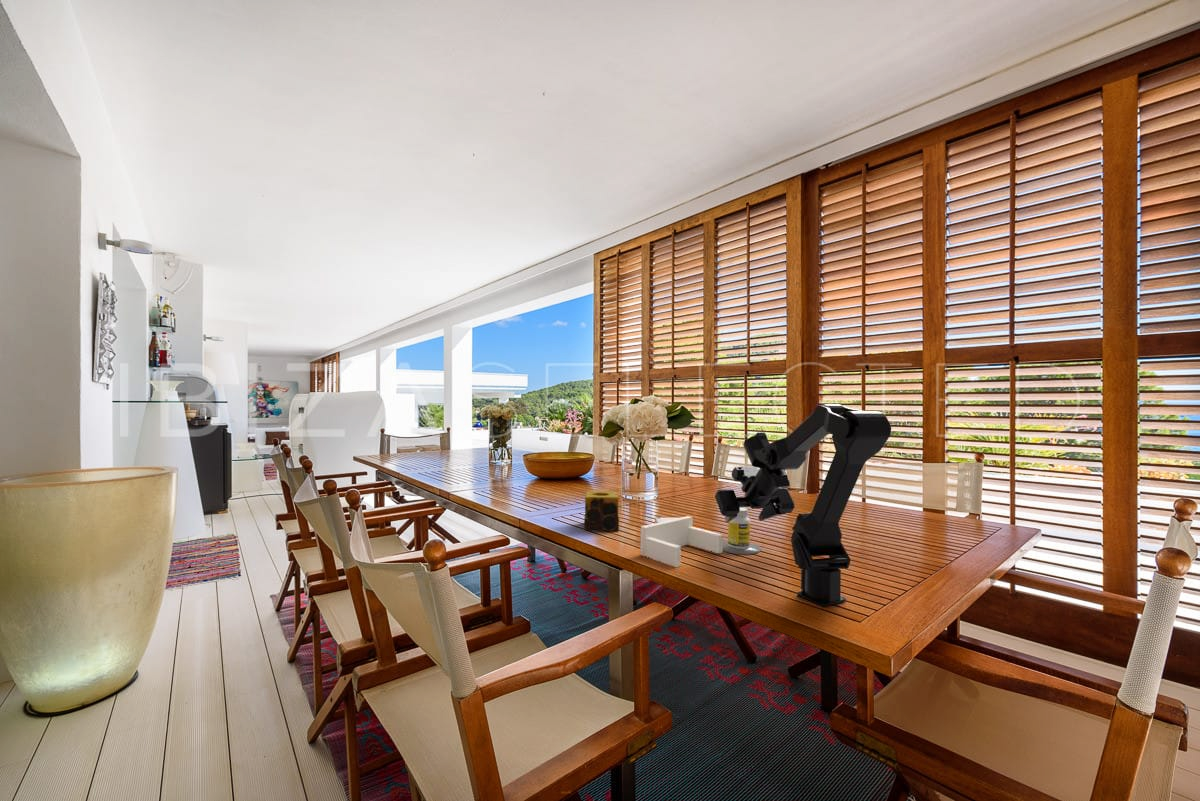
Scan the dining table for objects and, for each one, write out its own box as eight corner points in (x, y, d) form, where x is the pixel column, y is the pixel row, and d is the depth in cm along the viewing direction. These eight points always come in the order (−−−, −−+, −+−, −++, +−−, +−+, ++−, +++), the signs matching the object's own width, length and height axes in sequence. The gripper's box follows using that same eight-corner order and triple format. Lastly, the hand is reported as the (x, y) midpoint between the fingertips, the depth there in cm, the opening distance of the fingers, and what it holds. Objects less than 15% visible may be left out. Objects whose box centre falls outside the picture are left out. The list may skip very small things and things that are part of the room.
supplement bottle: (739, 550, 126) (739, 511, 126) (723, 545, 131) (723, 507, 131) (754, 547, 129) (754, 509, 129) (738, 542, 133) (739, 505, 133)
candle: (619, 532, 144) (619, 497, 144) (583, 531, 145) (584, 497, 145) (618, 523, 155) (618, 490, 155) (585, 522, 155) (585, 490, 155)
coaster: (770, 550, 128) (770, 549, 128) (737, 556, 122) (737, 555, 122) (739, 539, 137) (739, 538, 137) (707, 545, 132) (707, 543, 132)
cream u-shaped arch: (722, 552, 126) (723, 524, 126) (675, 567, 115) (676, 536, 115) (687, 542, 135) (687, 516, 135) (640, 554, 123) (640, 526, 123)
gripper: (788, 455, 124) (764, 492, 135) (718, 456, 121) (699, 495, 131) (807, 492, 117) (781, 529, 127) (733, 495, 113) (712, 532, 123)
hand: (743, 520), depth 128 cm, fingers open, 9 cm apart
